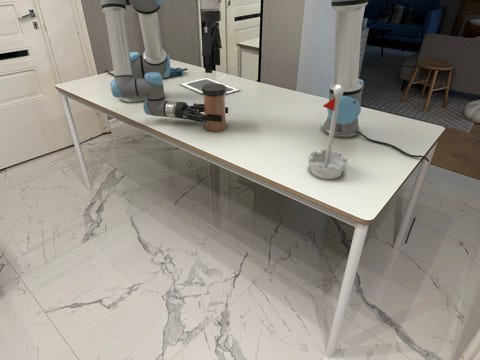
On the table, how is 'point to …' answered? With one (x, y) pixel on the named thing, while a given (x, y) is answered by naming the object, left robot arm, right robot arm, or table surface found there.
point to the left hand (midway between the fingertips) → (224, 114)
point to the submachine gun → (176, 71)
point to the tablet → (200, 83)
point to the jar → (215, 111)
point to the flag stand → (329, 148)
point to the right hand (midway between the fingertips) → (213, 68)
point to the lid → (214, 89)
